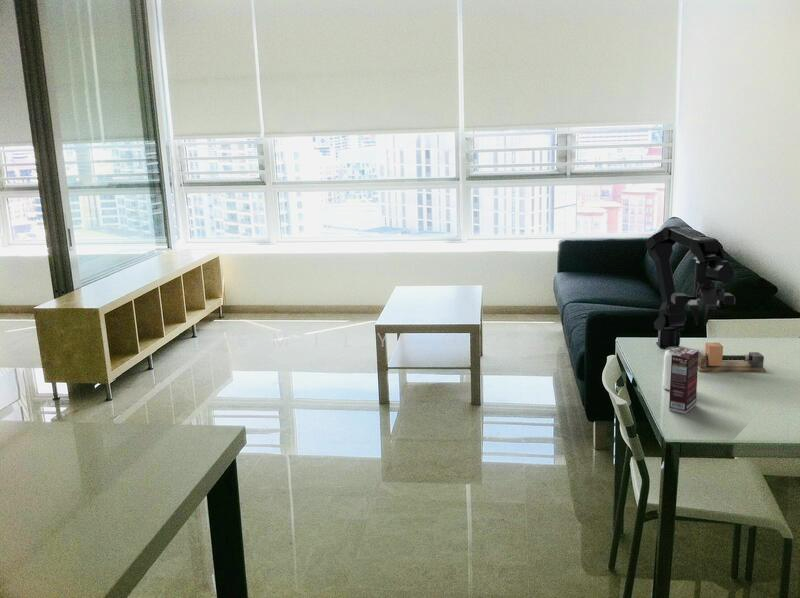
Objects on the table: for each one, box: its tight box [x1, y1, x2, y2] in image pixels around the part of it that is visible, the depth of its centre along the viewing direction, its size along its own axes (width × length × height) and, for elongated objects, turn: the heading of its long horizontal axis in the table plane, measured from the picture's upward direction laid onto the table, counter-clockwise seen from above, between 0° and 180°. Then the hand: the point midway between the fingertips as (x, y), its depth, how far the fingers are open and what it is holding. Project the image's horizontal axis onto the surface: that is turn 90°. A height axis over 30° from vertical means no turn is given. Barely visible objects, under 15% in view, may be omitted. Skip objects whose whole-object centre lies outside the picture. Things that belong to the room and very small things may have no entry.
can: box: [662, 346, 683, 392], centre depth 220 cm, size 6×6×12 cm
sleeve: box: [704, 342, 724, 366], centre depth 238 cm, size 4×4×6 cm
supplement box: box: [668, 347, 700, 415], centre depth 204 cm, size 9×5×16 cm, turn 141°
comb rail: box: [698, 351, 767, 373], centre depth 238 cm, size 20×9×4 cm, turn 85°
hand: (701, 324), depth 244 cm, fingers closed
